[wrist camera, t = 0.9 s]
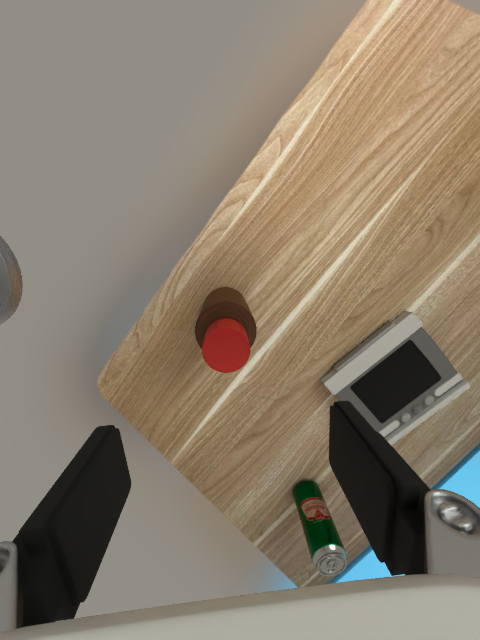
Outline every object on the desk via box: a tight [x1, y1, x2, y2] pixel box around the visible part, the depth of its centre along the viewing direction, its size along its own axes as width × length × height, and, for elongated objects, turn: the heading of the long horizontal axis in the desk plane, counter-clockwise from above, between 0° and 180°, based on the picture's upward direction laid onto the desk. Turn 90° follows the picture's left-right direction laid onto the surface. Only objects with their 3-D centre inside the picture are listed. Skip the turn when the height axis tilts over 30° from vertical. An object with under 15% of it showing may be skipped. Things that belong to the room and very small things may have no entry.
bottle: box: [195, 287, 256, 349], centre depth 29 cm, size 6×6×17 cm
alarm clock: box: [320, 311, 471, 445], centre depth 40 cm, size 17×5×16 cm
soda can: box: [293, 481, 347, 576], centre depth 41 cm, size 5×5×12 cm
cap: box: [202, 318, 250, 373], centre depth 22 cm, size 4×4×3 cm
